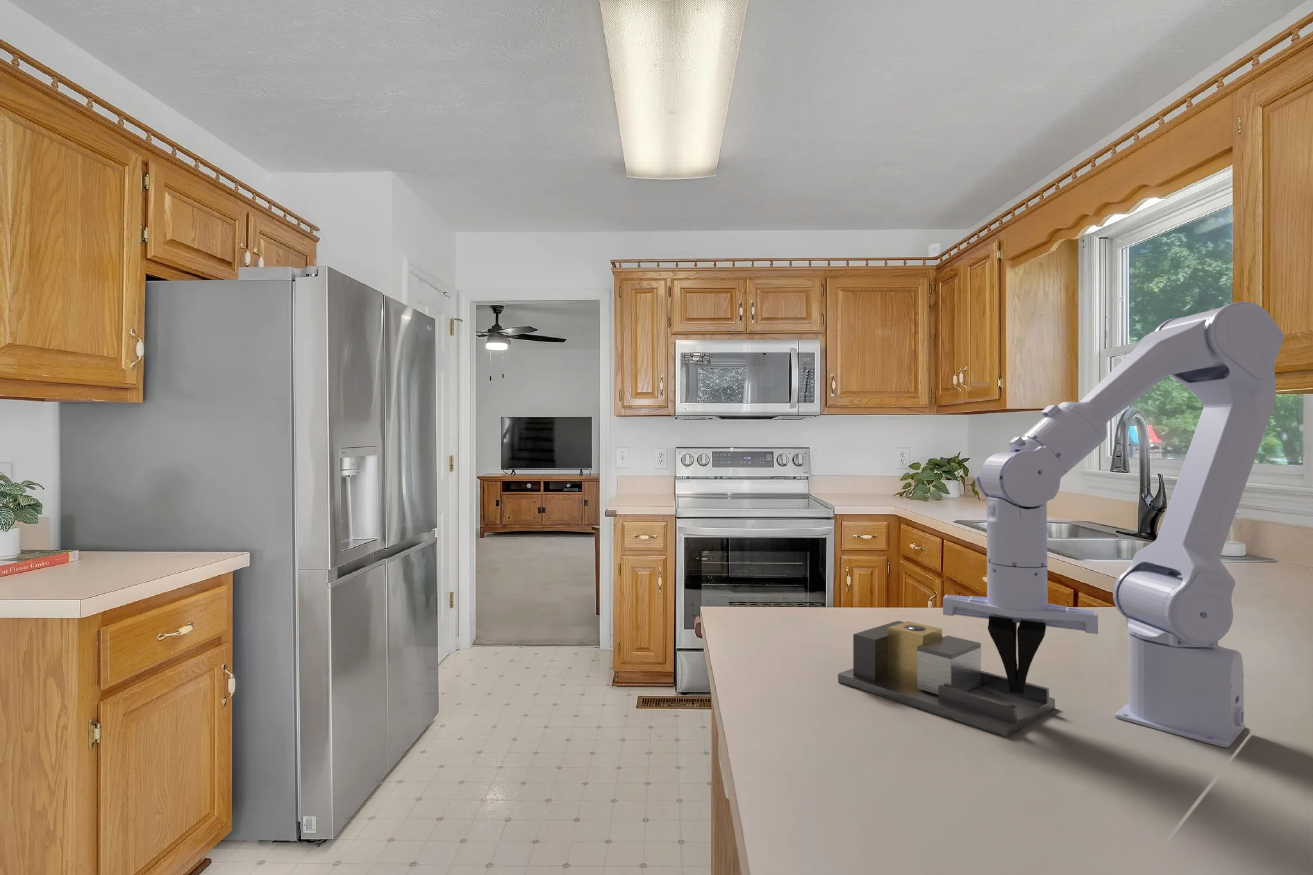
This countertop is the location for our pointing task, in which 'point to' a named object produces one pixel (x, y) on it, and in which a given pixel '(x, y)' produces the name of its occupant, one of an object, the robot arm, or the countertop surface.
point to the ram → (948, 664)
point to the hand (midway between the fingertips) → (1017, 690)
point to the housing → (907, 649)
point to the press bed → (946, 690)
